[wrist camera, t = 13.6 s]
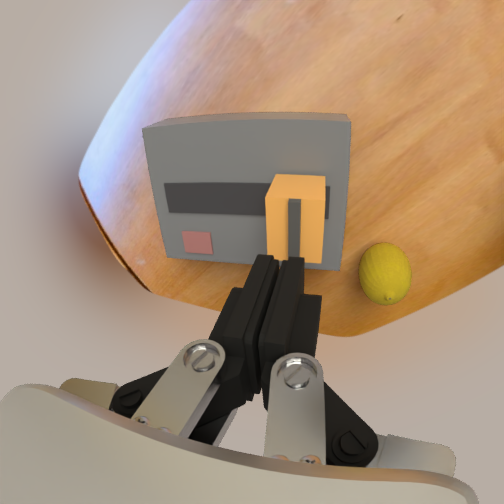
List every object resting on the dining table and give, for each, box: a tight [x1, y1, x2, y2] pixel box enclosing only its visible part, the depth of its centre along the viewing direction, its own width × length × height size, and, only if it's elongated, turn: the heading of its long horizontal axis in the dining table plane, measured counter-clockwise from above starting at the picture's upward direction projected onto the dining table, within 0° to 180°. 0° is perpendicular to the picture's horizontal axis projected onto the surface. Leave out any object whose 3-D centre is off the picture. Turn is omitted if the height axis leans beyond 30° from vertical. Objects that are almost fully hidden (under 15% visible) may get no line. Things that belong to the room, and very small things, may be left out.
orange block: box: [265, 174, 325, 263], centre depth 23 cm, size 4×5×6 cm
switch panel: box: [142, 112, 351, 271], centre depth 29 cm, size 18×14×5 cm
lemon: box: [359, 243, 412, 305], centre depth 29 cm, size 6×6×8 cm
